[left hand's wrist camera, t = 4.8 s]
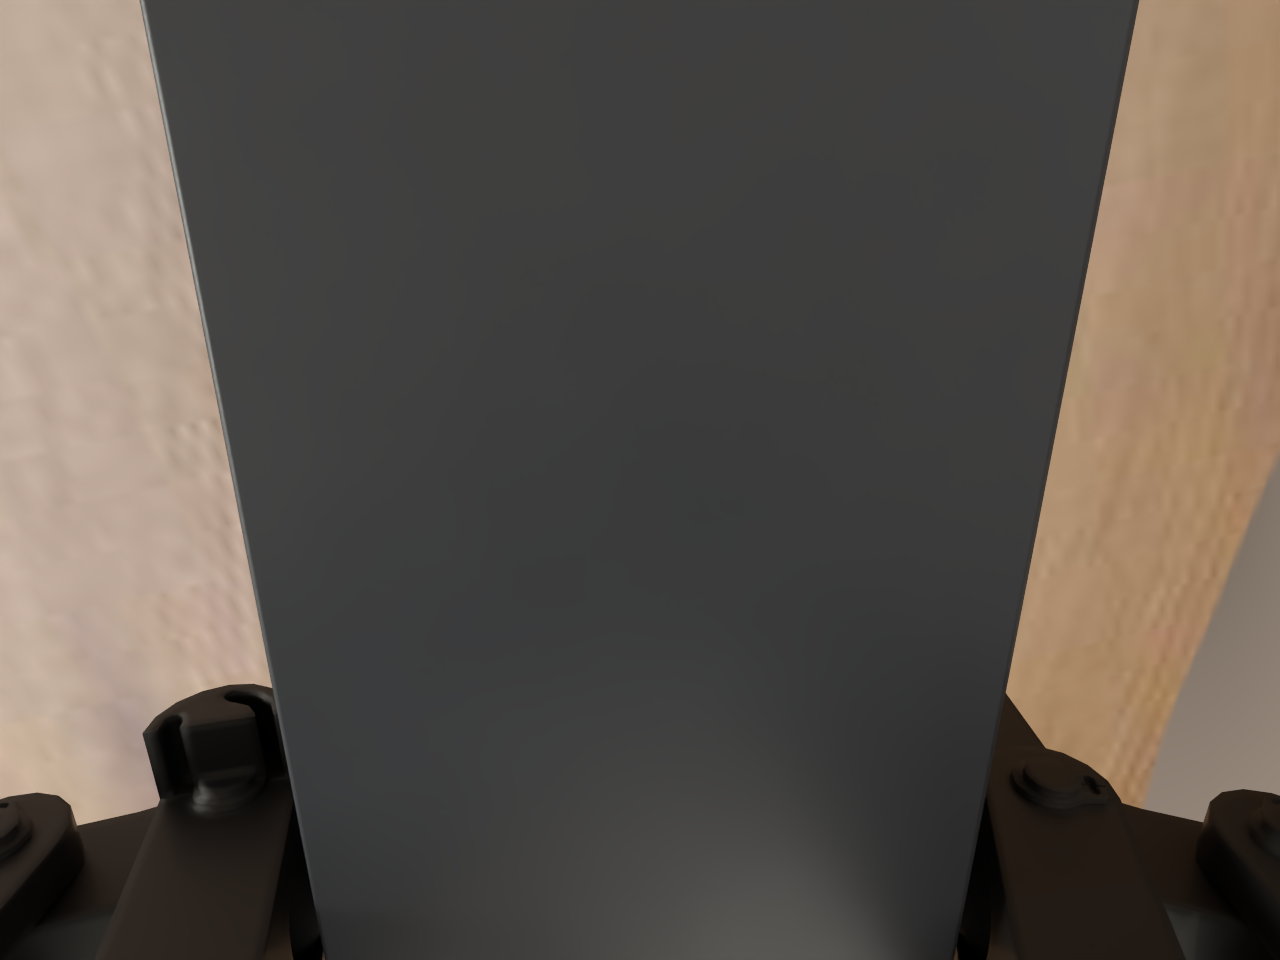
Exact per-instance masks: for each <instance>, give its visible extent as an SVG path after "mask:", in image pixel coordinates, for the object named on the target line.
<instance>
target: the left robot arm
mask: <svg viewBox="0 0 1280 960" xmlns="http://www.w3.org/2000/svg"><path fill="white" fill-rule="evenodd" d="M143 737H144V741H145V745H146V748H147V752H148V756H149V760H150V763H151V767H152V771H153V774H154V778H155V782H156V786H157V789H158V793H159V797H160V801H159V804H158V806H157V807H154V808H151V809H148V810H144V811H141V812H137V813H132V814H128V815H124V816H119V817H115V818H110V819H106V820H101V821H97V822H92V823H88V824H83V825H79V826H77V825H76V821H75V818H74V815H73V812H72V809H71V806H70V805H69V804H68V803H67V802H66V801H64V800H63V799H62V798H61V797H59V796H57V795H50V794H43V793H31V794H24V795H17V796H10V797H6V798H3V799H0V960H325V957H324V952H323V946H322V941H321V936H320V931H319V926H318V921H317V915H316V910H315V905H314V900H313V895H312V890H311V884H310V879H309V874H308V869H307V864H306V858H305V853H304V848H303V843H302V838H301V833H300V827H299V822H298V817H297V812H296V807H295V802H294V796H293V791H292V786H291V781H290V776H289V770H288V765H287V760H286V755H285V750H284V745H283V739H282V734H281V729H280V724H279V719H278V714H277V708H276V703H275V698H274V693H273V688H269V687H264V686H260V685H256V684H240V685H227V686H223V687H219V688H214V689H210V690H206V691H202V692H200V693H197V694H195V695H193V696H191V697H188V698H186V699H184V700H181V701H179V702H177V703H175V704H174V705H172V706H171V707H170V708H168V709H167V710H165V711H164V712H162V713H161V714H159V715H158V716H157V717H155V719H154V720H153V721H152V722H151V724H150V725H149V726H148V727H147V728H146V730H145V731H144V732H143ZM954 960H1280V796H1279V795H1276V794H1273V793H1267V792H1260V791H1253V790H1245V789H1241V790H1234V791H1227V792H1222V793H1220V794H1219V795H1218V796H1217V797H1215V798H1214V799H1213V800H1212V801H1211V802H1210V804H1209V807H1208V810H1207V813H1206V816H1205V819H1204V822H1198V821H1194V820H1189V819H1185V818H1180V817H1176V816H1171V815H1167V814H1162V813H1158V812H1153V811H1149V810H1144V809H1140V808H1137V807H1133V806H1130V805H1127V804H1123V803H1122V802H1121V800H1120V798H1119V797H1118V795H1117V794H1116V792H1115V791H1114V789H1113V788H1112V786H1111V785H1110V783H1109V782H1108V781H1107V780H1106V779H1105V778H1103V777H1102V776H1101V775H1100V774H1098V773H1097V772H1096V771H1095V770H1093V769H1092V768H1091V767H1089V766H1088V765H1086V764H1084V763H1082V762H1080V761H1078V760H1076V759H1074V758H1072V757H1070V756H1068V755H1066V754H1064V753H1061V752H1057V751H1054V750H1050V749H1046V748H1045V747H1044V745H1043V744H1042V743H1041V741H1040V740H1039V738H1038V737H1037V736H1036V734H1035V733H1034V732H1033V730H1032V729H1031V727H1030V726H1029V725H1028V723H1027V722H1026V721H1025V719H1024V718H1023V716H1022V715H1021V714H1020V712H1019V711H1018V709H1017V708H1016V707H1015V705H1014V704H1013V703H1012V701H1011V700H1010V698H1009V697H1008V696H1007V694H1006V693H1005V698H1004V703H1003V708H1002V714H1001V719H1000V724H999V729H998V734H997V739H996V745H995V750H994V755H993V760H992V765H991V771H990V776H989V781H988V786H987V791H986V797H985V802H984V807H983V812H982V817H981V822H980V828H979V833H978V838H977V843H976V848H975V854H974V859H973V864H972V869H971V874H970V879H969V885H968V890H967V895H966V900H965V905H964V911H963V916H962V921H961V926H960V931H959V936H958V942H957V947H956V952H955V957H954Z"/></svg>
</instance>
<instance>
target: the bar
mask: <svg viewBox="0 0 1280 960" xmlns="http://www.w3.org/2000/svg"><path fill="white" fill-rule="evenodd" d="M1138 3H1139V0H140V4H141V10H142V15H143V20H144V25H145V30H146V36H147V41H148V46H149V51H150V56H151V61H152V67H153V72H154V77H155V82H156V87H157V92H158V98H159V103H160V108H161V113H162V118H163V124H164V129H165V134H166V139H167V144H168V149H169V155H170V160H171V165H172V170H173V175H174V180H175V186H176V191H177V196H178V201H179V206H180V211H181V217H182V222H183V227H184V232H185V237H186V243H187V248H188V253H189V258H190V263H191V268H192V274H193V279H194V284H195V289H196V294H197V299H198V305H199V310H200V315H201V320H202V325H203V331H204V336H205V341H206V346H207V351H208V356H209V362H210V367H211V372H212V377H213V382H214V387H215V393H216V398H217V403H218V408H219V413H220V419H221V424H222V429H223V434H224V439H225V444H226V450H227V455H228V460H229V465H230V470H231V475H232V481H233V486H234V491H235V496H236V501H237V507H238V512H239V517H240V522H241V527H242V532H243V538H244V543H245V548H246V553H247V558H248V563H249V569H250V574H251V579H252V584H253V589H254V595H255V600H256V605H257V610H258V615H259V620H260V626H261V631H262V636H263V641H264V646H265V651H266V657H267V662H268V667H269V672H270V677H271V682H272V688H273V693H274V698H275V703H276V708H277V714H278V719H279V724H280V729H281V734H282V739H283V745H284V750H285V755H286V760H287V765H288V770H289V776H290V781H291V786H292V791H293V796H294V802H295V807H296V812H297V817H298V822H299V827H300V833H301V838H302V843H303V848H304V853H305V858H306V864H307V869H308V874H309V879H310V884H311V890H312V895H313V900H314V905H315V910H316V915H317V921H318V926H319V931H320V936H321V941H322V946H323V952H324V957H325V960H954V957H955V952H956V947H957V942H958V936H959V931H960V926H961V921H962V916H963V911H964V905H965V900H966V895H967V890H968V885H969V879H970V874H971V869H972V864H973V859H974V854H975V848H976V843H977V838H978V833H979V828H980V822H981V817H982V812H983V807H984V802H985V797H986V791H987V786H988V781H989V776H990V771H991V765H992V760H993V755H994V750H995V745H996V739H997V734H998V729H999V724H1000V719H1001V714H1002V708H1003V703H1004V698H1005V693H1006V688H1007V682H1008V677H1009V672H1010V667H1011V662H1012V657H1013V651H1014V646H1015V641H1016V636H1017V631H1018V625H1019V620H1020V615H1021V610H1022V605H1023V600H1024V594H1025V589H1026V584H1027V579H1028V574H1029V568H1030V563H1031V558H1032V553H1033V548H1034V543H1035V537H1036V532H1037V527H1038V522H1039V517H1040V511H1041V506H1042V501H1043V496H1044V491H1045V486H1046V480H1047V475H1048V470H1049V465H1050V460H1051V454H1052V449H1053V444H1054V439H1055V434H1056V428H1057V423H1058V418H1059V413H1060V408H1061V403H1062V397H1063V392H1064V387H1065V382H1066V377H1067V371H1068V366H1069V361H1070V356H1071V351H1072V346H1073V340H1074V335H1075V330H1076V325H1077V320H1078V314H1079V309H1080V304H1081V299H1082V294H1083V289H1084V283H1085V278H1086V273H1087V268H1088V263H1089V257H1090V252H1091V247H1092V242H1093V237H1094V232H1095V226H1096V221H1097V216H1098V211H1099V206H1100V200H1101V195H1102V190H1103V185H1104V180H1105V175H1106V169H1107V164H1108V159H1109V154H1110V149H1111V143H1112V138H1113V133H1114V128H1115V123H1116V118H1117V112H1118V107H1119V102H1120V97H1121V92H1122V86H1123V81H1124V76H1125V71H1126V66H1127V60H1128V55H1129V50H1130V45H1131V40H1132V35H1133V29H1134V24H1135V19H1136V14H1137V9H1138Z"/></svg>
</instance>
